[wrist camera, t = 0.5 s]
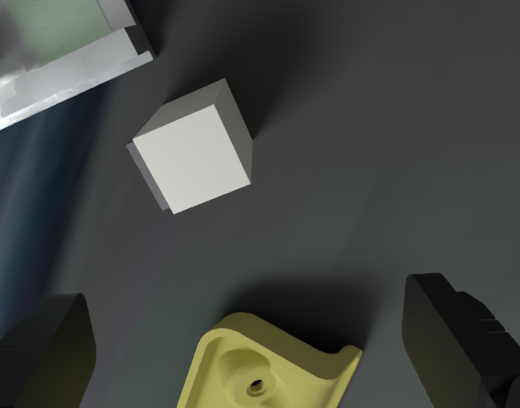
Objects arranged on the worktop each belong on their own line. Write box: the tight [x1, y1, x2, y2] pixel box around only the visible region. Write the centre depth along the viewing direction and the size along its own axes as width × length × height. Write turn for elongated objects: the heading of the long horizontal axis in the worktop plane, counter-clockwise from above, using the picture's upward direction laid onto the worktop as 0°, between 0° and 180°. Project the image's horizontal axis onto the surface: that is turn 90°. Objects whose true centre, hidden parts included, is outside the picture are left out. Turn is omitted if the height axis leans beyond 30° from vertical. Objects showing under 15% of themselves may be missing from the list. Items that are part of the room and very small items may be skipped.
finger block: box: [126, 78, 253, 214], centre depth 24 cm, size 5×4×7 cm
